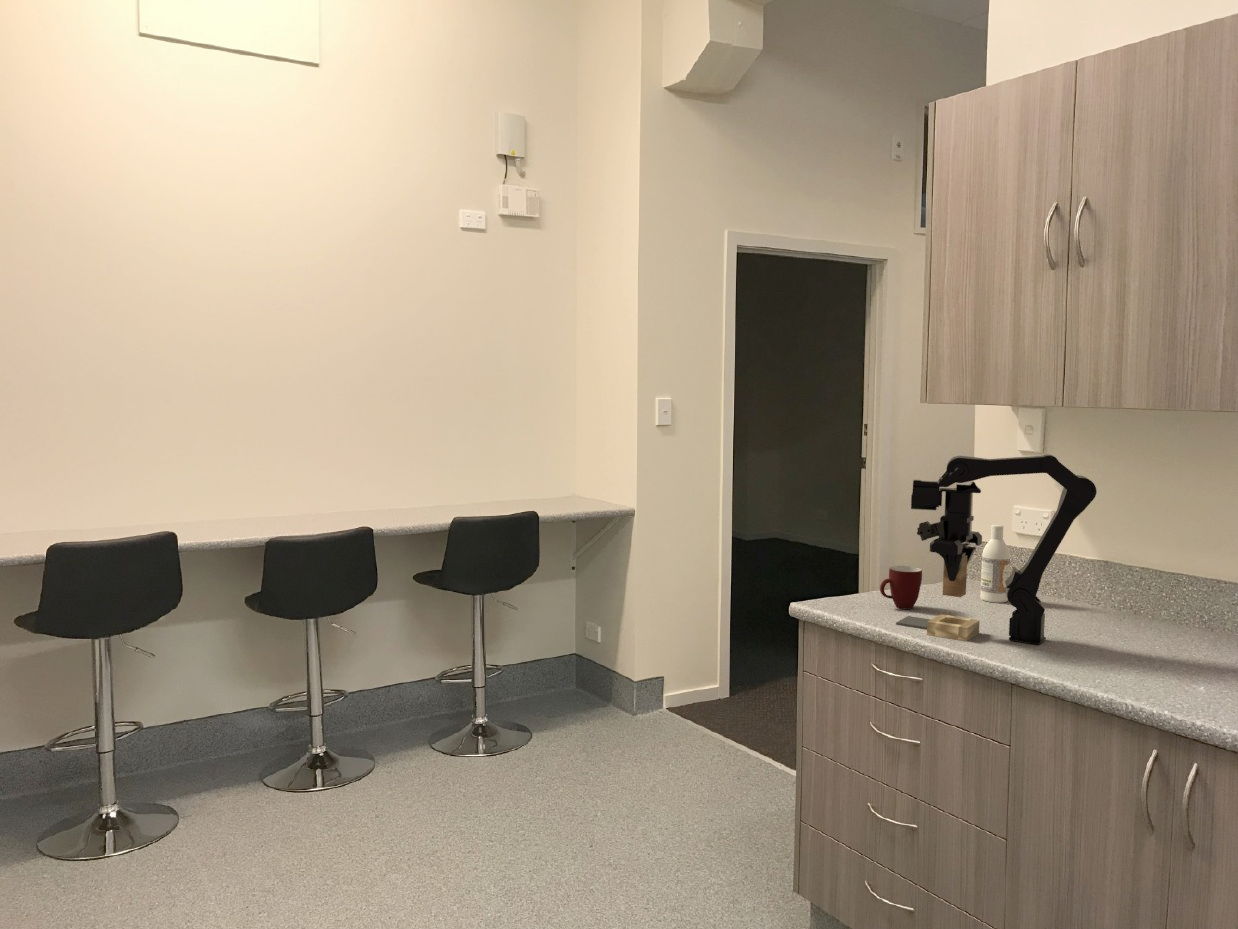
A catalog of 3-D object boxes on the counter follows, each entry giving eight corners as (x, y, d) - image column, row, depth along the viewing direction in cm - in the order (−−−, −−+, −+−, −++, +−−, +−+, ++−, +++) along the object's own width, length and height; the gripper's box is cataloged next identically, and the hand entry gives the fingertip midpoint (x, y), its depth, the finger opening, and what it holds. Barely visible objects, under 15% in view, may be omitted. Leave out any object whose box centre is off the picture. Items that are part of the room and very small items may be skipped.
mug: (890, 612, 245) (891, 573, 244) (873, 605, 253) (874, 567, 252) (927, 610, 248) (928, 571, 247) (909, 603, 255) (910, 565, 254)
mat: (940, 623, 235) (940, 621, 235) (929, 629, 229) (929, 627, 228) (908, 617, 240) (908, 615, 240) (896, 624, 233) (896, 622, 233)
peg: (965, 594, 225) (967, 555, 224) (960, 597, 222) (961, 558, 221) (948, 591, 227) (949, 553, 226) (942, 594, 224) (944, 556, 223)
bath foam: (1001, 604, 254) (1004, 528, 253) (975, 600, 259) (978, 525, 258) (1012, 600, 259) (1016, 525, 257) (987, 596, 264) (990, 522, 262)
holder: (979, 633, 226) (979, 620, 226) (966, 641, 219) (967, 628, 219) (940, 626, 232) (940, 614, 231) (926, 634, 224) (927, 621, 224)
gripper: (936, 504, 235) (933, 568, 236) (908, 512, 220) (905, 581, 221) (984, 508, 228) (981, 574, 230) (958, 517, 213) (955, 588, 215)
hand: (954, 579), depth 224 cm, fingers closed on peg, 4 cm apart
